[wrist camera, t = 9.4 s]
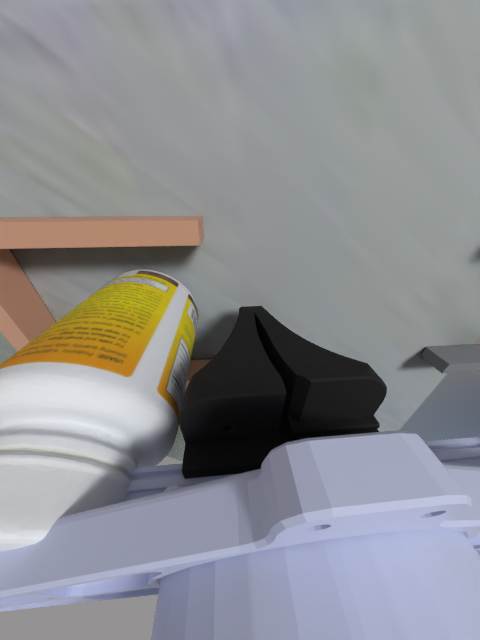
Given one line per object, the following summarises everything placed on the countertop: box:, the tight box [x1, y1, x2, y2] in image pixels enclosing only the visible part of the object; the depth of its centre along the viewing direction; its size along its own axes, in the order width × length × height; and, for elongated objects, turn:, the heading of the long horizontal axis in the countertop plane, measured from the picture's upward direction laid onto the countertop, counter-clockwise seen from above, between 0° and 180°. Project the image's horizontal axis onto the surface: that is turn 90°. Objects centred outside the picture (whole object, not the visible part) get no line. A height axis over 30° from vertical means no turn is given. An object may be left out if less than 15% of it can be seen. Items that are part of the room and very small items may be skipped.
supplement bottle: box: [0, 269, 198, 552], centre depth 8 cm, size 6×6×10 cm
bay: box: [0, 216, 211, 390], centre depth 11 cm, size 11×11×2 cm
